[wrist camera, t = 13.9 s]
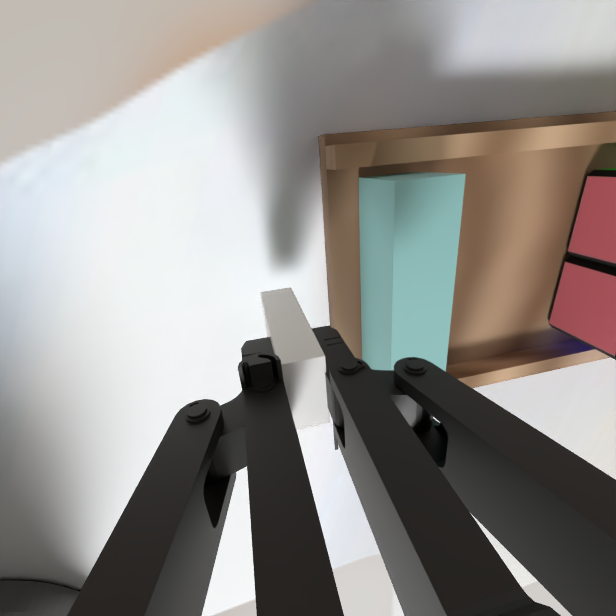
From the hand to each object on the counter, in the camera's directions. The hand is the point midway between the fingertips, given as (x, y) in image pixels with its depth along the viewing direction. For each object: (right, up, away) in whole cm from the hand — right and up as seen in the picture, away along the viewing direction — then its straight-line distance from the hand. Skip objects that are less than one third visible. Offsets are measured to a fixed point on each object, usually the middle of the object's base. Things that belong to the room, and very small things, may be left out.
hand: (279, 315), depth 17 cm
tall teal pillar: (+6, +1, +2) cm, 6 cm away
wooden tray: (+16, +4, +5) cm, 18 cm away
